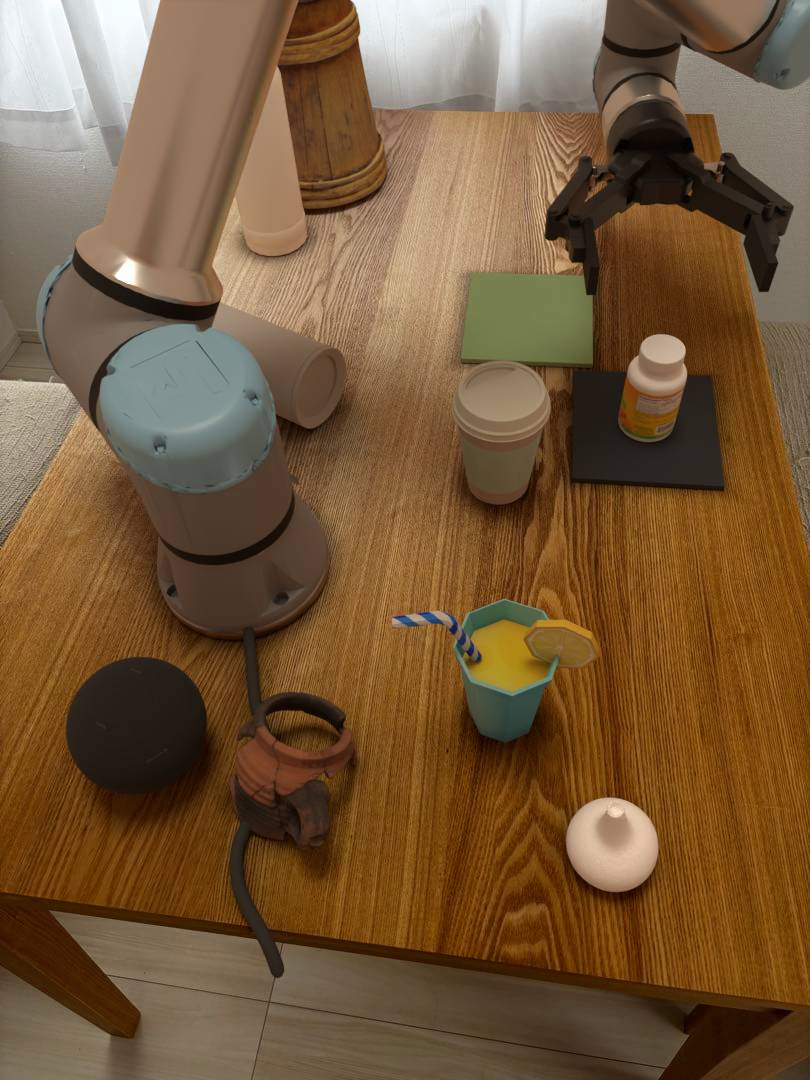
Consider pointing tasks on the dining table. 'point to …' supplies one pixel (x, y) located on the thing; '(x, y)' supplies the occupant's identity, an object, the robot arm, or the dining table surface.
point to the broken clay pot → (288, 773)
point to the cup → (509, 660)
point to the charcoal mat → (626, 461)
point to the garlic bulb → (612, 844)
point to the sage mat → (528, 320)
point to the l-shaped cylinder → (289, 366)
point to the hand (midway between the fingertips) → (680, 279)
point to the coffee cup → (500, 427)
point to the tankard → (330, 106)
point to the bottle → (272, 183)
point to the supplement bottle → (653, 389)
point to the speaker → (136, 725)
